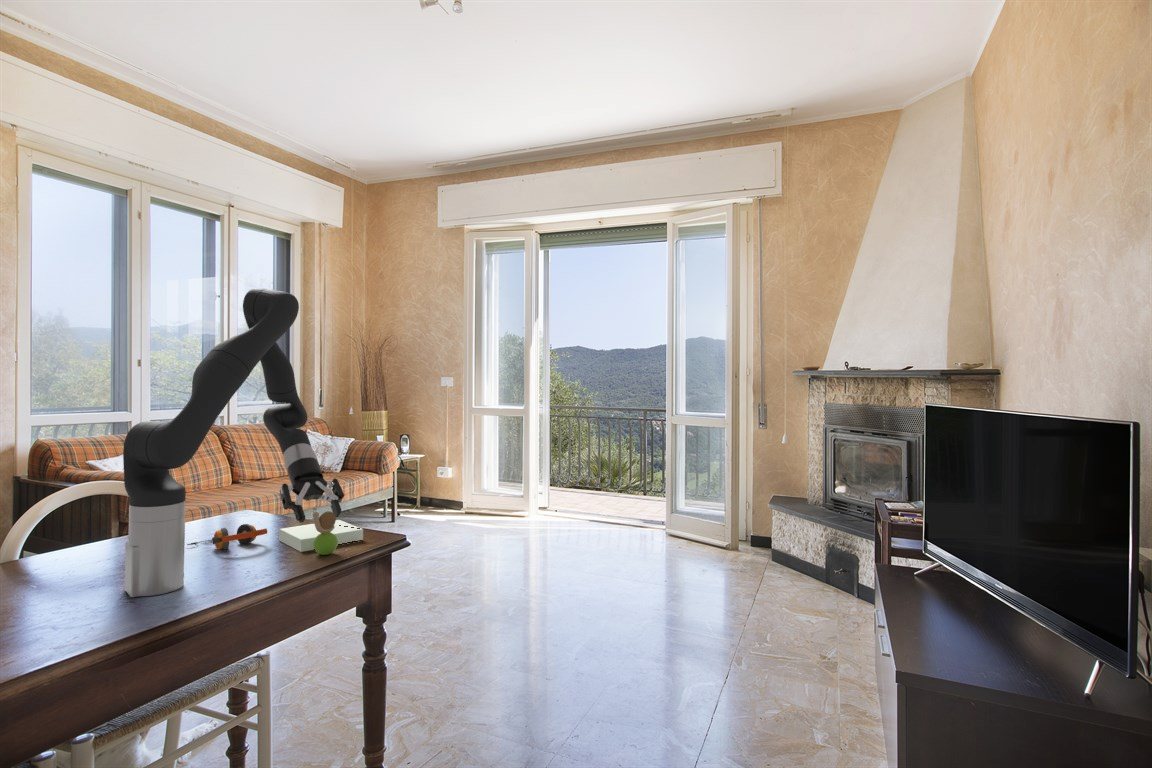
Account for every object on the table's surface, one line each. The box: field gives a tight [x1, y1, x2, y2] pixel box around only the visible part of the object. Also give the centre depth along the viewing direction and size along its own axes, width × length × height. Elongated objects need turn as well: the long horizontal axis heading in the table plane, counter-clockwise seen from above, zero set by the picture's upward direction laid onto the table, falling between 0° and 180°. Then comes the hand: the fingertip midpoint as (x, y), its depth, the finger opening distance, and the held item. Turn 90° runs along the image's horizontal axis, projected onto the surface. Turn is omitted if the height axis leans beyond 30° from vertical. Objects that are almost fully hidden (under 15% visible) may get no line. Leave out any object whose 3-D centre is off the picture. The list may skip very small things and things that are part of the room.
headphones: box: [186, 523, 268, 550], centre depth 151 cm, size 16×5×20 cm
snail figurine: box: [312, 507, 339, 556], centre depth 145 cm, size 5×6×12 cm
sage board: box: [278, 519, 364, 553], centre depth 157 cm, size 16×14×3 cm
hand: (320, 518), depth 146 cm, fingers open, 8 cm apart
